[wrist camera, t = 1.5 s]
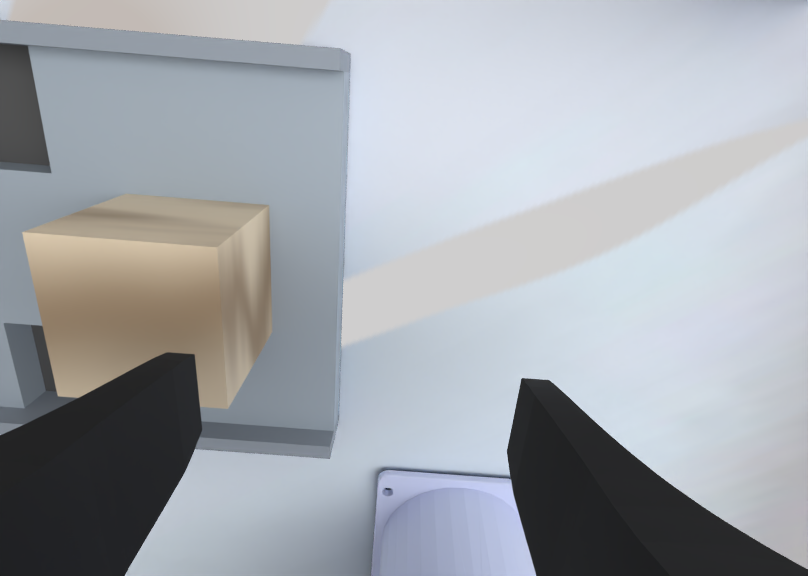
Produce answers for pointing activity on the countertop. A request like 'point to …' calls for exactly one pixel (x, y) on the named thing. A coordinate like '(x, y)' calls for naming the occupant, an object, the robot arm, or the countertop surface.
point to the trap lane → (183, 196)
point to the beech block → (154, 290)
